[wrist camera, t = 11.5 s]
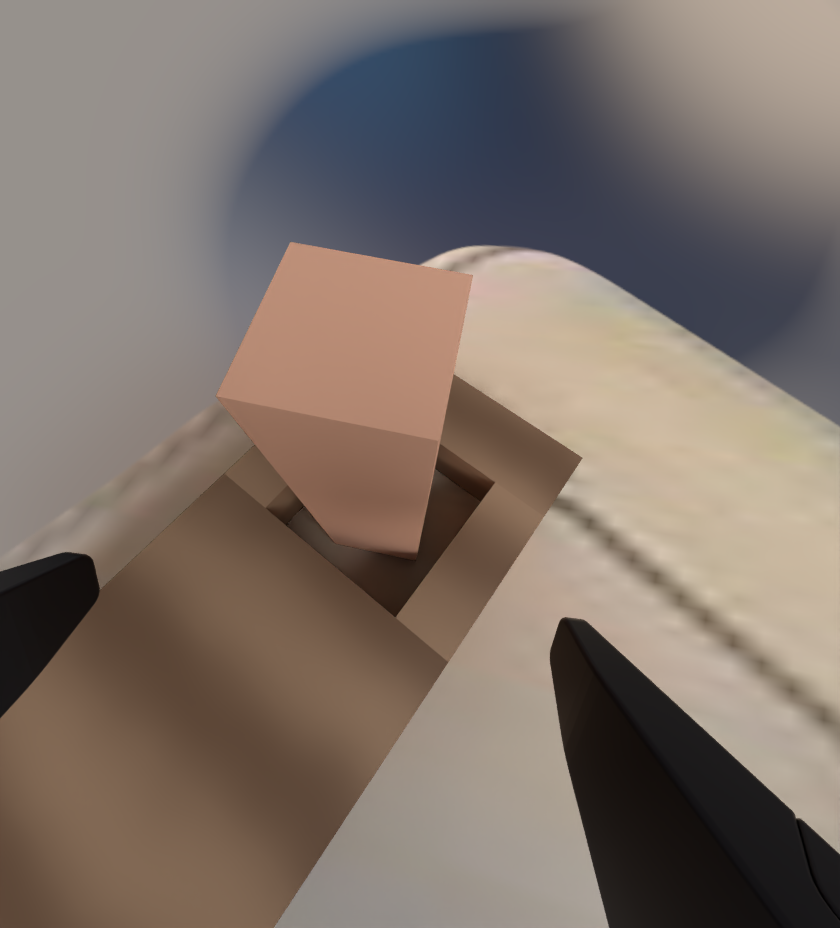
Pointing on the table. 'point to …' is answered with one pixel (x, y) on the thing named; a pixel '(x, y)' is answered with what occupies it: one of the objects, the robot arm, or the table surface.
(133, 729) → the wooden peg hole board
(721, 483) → the table surface
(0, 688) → the robot arm
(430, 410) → the terracotta peg block
